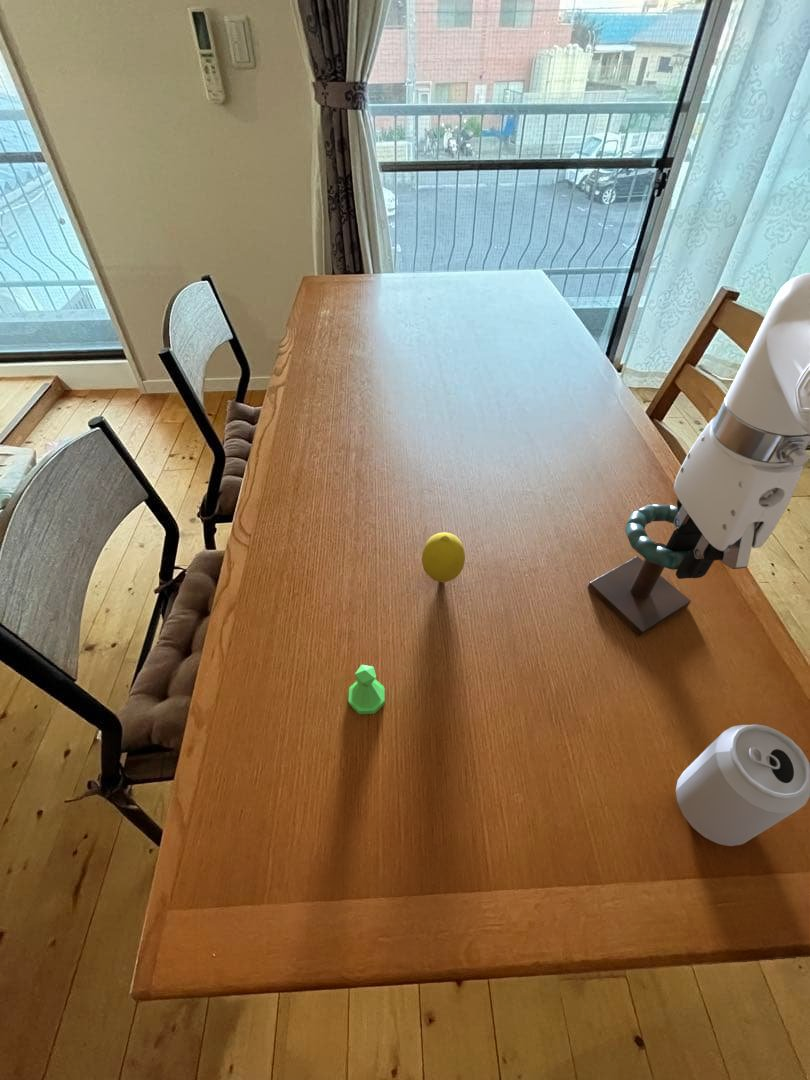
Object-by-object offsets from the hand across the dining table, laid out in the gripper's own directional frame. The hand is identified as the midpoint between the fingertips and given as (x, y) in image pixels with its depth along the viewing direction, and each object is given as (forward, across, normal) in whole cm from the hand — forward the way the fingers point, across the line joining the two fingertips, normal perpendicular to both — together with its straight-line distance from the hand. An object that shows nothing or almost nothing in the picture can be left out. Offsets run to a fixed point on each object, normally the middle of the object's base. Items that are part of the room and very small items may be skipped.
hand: (683, 564), depth 62 cm
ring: (-1, +4, 0) cm, 4 cm away
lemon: (+11, +10, +25) cm, 29 cm away
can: (+11, -22, +4) cm, 25 cm away
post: (+11, +4, 0) cm, 12 cm away
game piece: (+11, -6, +36) cm, 38 cm away
